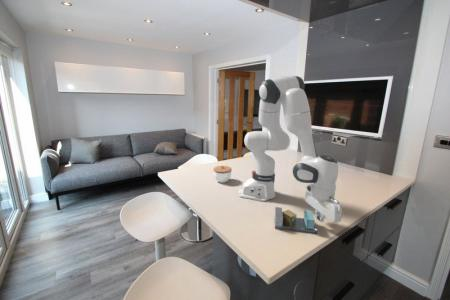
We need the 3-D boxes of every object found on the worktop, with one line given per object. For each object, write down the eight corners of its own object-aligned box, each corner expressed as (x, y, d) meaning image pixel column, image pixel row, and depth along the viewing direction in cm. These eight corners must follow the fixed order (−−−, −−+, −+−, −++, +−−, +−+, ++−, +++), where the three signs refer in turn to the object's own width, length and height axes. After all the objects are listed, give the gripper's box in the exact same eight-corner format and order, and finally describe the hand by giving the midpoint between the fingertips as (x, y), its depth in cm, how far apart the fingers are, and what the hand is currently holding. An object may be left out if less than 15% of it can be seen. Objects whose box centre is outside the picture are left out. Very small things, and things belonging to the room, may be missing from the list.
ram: (306, 228, 97) (307, 219, 96) (303, 218, 105) (304, 209, 104) (313, 229, 96) (314, 220, 95) (310, 218, 104) (311, 210, 103)
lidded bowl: (229, 185, 147) (229, 169, 144) (211, 183, 149) (211, 168, 146) (232, 178, 158) (233, 163, 156) (215, 176, 161) (215, 162, 158)
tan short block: (281, 220, 103) (282, 211, 102) (287, 218, 105) (288, 209, 104) (290, 226, 99) (291, 217, 98) (296, 223, 101) (297, 214, 100)
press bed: (275, 228, 99) (276, 216, 98) (274, 217, 108) (275, 207, 106) (316, 233, 96) (318, 221, 95) (312, 222, 105) (314, 211, 103)
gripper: (348, 202, 87) (343, 232, 90) (315, 182, 106) (311, 208, 109) (335, 204, 85) (330, 235, 89) (303, 184, 104) (300, 210, 108)
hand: (319, 220), depth 99 cm, fingers closed
